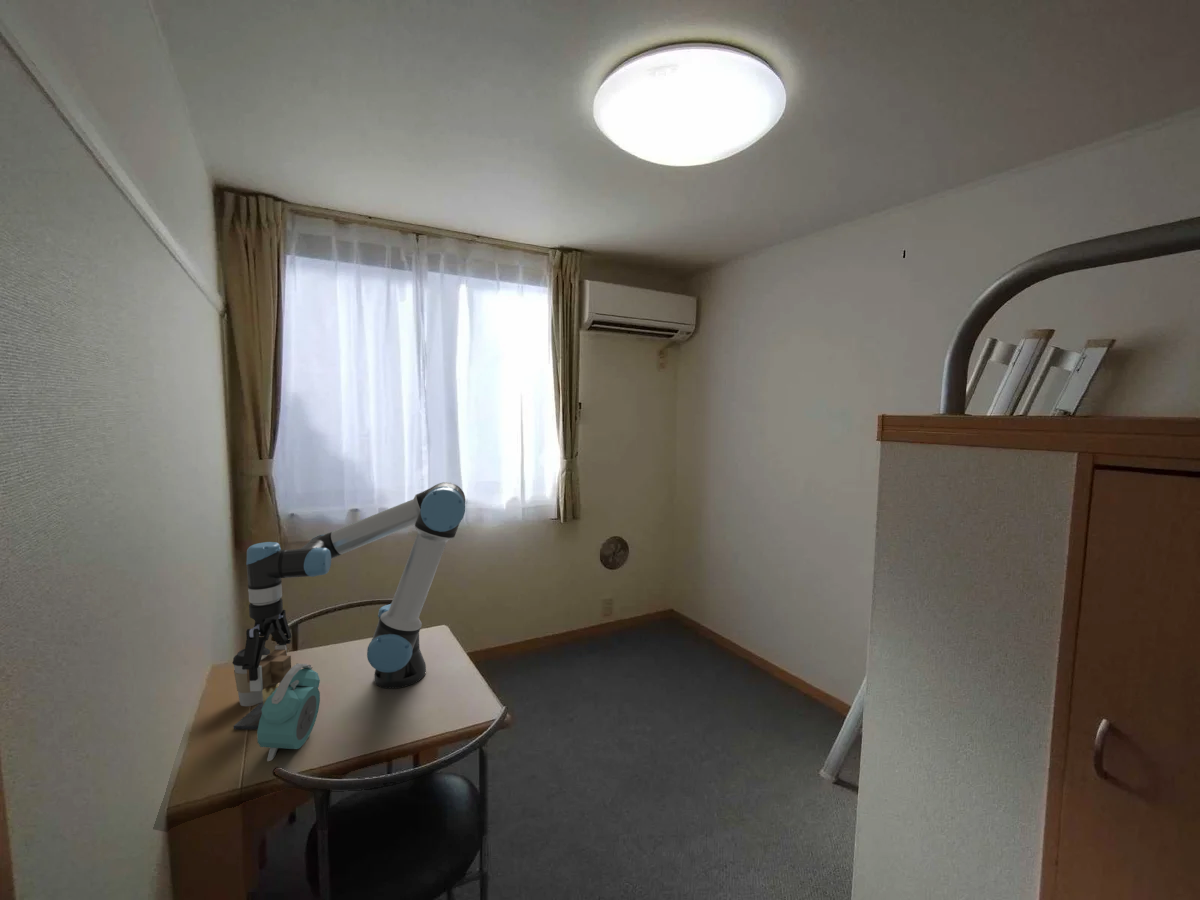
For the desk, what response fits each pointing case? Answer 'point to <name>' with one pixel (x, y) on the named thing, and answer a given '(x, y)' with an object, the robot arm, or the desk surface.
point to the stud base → (255, 712)
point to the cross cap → (273, 667)
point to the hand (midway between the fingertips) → (269, 678)
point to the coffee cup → (241, 681)
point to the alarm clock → (290, 711)
